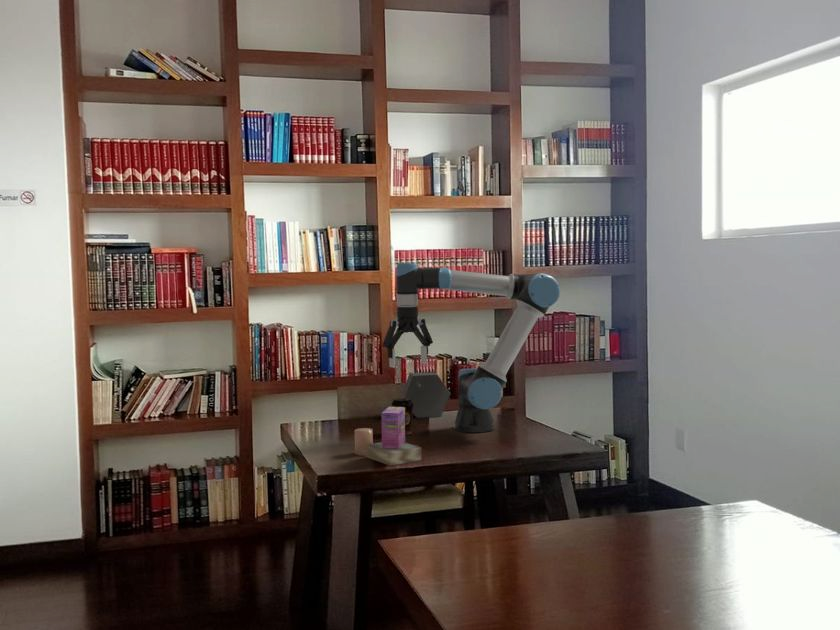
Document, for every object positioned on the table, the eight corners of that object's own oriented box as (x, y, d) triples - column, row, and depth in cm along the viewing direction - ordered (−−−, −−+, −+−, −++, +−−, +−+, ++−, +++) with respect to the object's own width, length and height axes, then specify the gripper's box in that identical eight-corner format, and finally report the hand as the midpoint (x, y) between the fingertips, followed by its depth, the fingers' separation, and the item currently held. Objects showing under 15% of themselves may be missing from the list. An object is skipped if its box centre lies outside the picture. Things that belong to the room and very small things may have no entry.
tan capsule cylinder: (366, 450, 280) (366, 427, 279) (376, 453, 275) (376, 430, 274) (351, 453, 276) (351, 429, 276) (361, 456, 271) (360, 432, 271)
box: (399, 449, 262) (398, 412, 261) (381, 449, 263) (380, 412, 262) (405, 442, 272) (405, 406, 272) (389, 441, 273) (388, 406, 273)
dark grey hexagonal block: (453, 401, 347) (426, 361, 343) (457, 404, 339) (430, 363, 336) (420, 425, 344) (393, 385, 341) (424, 428, 337) (396, 388, 333)
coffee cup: (412, 436, 301) (411, 401, 300) (389, 435, 303) (389, 400, 302) (415, 431, 310) (415, 397, 309) (394, 430, 311) (393, 396, 310)
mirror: (397, 451, 277) (397, 439, 277) (421, 459, 266) (421, 446, 266) (366, 457, 270) (366, 444, 270) (390, 465, 259) (390, 452, 259)
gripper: (429, 304, 303) (430, 361, 304) (371, 307, 288) (373, 367, 290) (441, 305, 297) (442, 363, 298) (383, 308, 282) (384, 369, 284)
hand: (408, 365), depth 294 cm, fingers open, 13 cm apart
